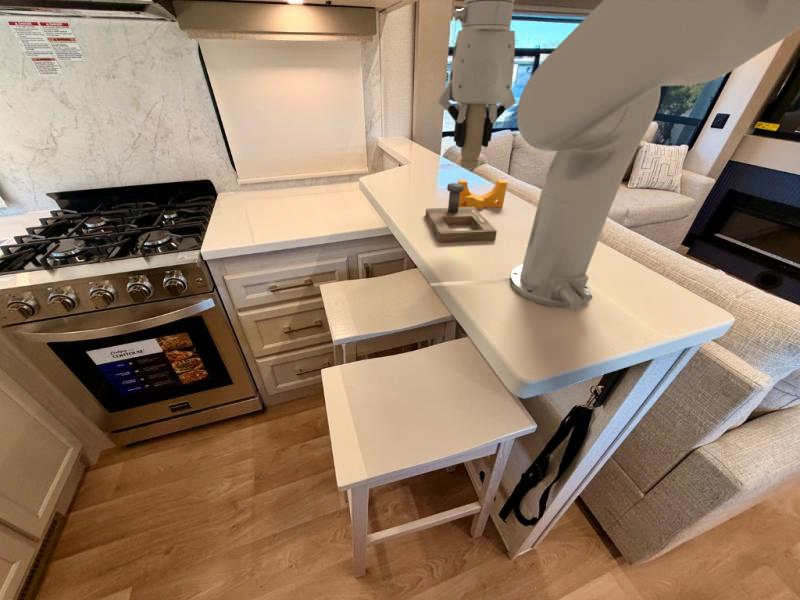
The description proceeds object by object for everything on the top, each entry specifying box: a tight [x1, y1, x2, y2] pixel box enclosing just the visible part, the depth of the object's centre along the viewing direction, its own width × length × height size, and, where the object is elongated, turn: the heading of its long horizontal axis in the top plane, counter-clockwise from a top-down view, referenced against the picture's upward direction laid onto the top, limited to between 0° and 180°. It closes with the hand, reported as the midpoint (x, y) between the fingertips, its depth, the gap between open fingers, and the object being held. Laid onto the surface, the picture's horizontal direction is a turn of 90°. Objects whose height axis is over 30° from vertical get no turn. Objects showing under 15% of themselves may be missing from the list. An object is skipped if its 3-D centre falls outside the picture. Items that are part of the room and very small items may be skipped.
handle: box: [460, 104, 486, 169], centre depth 60 cm, size 5×6×15 cm
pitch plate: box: [425, 182, 498, 244], centre depth 72 cm, size 15×12×8 cm
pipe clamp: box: [457, 178, 508, 210], centre depth 85 cm, size 12×4×6 cm, turn 89°
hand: (471, 144), depth 62 cm, fingers closed on handle, 4 cm apart
